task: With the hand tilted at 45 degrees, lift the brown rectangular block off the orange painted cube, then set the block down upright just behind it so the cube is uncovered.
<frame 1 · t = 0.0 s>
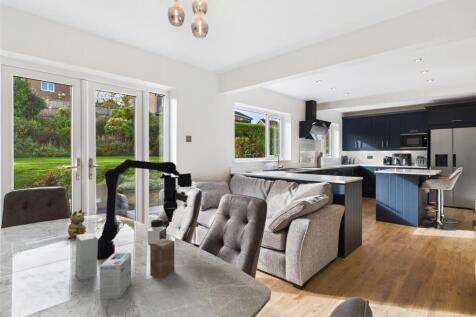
hand: (170, 219, 124), 15 cm above the table, tool pointing down, fingers open, 9 cm apart
brown rectangular block: (162, 273, 99), on the table
skincare box: (86, 275, 98), on the table
light bulb box: (116, 291, 86), on the table
orange cube: (162, 268, 99), in the brown rectangular block
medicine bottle: (157, 242, 136), on the table
decorative figurine: (76, 236, 147), on the table
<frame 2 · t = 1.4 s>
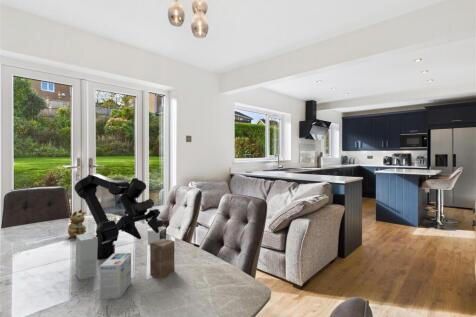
hand: (149, 235, 103), 13 cm above the table, tool tilted 45°, fingers open, 9 cm apart
nothing on the table moved.
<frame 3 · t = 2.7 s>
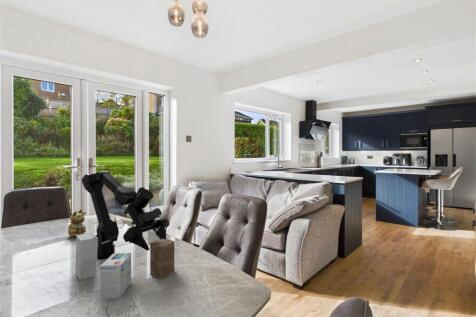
hand: (157, 246, 100), 10 cm above the table, tool tilted 45°, fingers open, 9 cm apart
nothing on the table moved.
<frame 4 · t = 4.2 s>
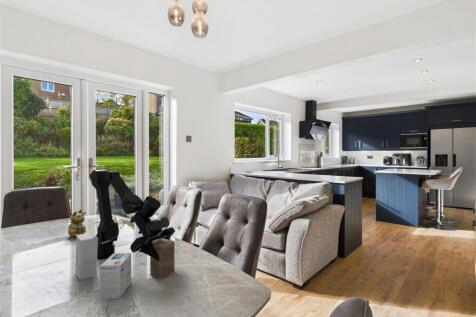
hand: (165, 256, 98), 7 cm above the table, tool tilted 45°, fingers closed on brown rectangular block, 6 cm apart
brown rectangular block: (162, 273, 99), on the table, touching gripper
everything else where it was.
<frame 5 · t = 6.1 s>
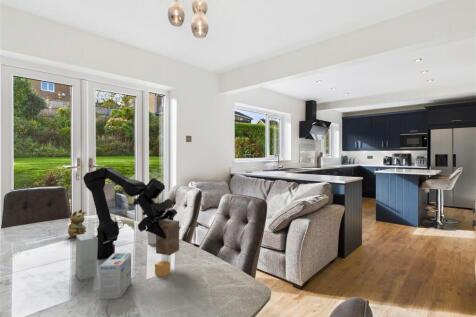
hand: (170, 235, 103), 13 cm above the table, tool tilted 45°, fingers closed on brown rectangular block, 6 cm apart
brown rectangular block: (167, 251, 104), point 7 cm above the table, touching gripper
everything else where it was.
when the fingers open (8 cm above the table, at t = 8.4 s): brown rectangular block drops 1 cm, on the table.
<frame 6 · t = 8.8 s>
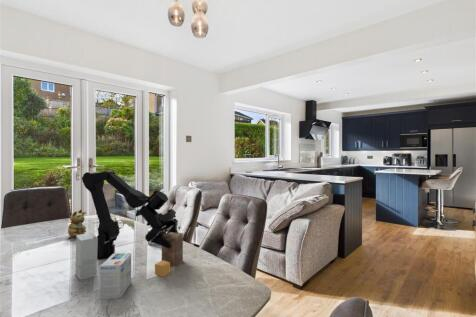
hand: (175, 244, 109), 8 cm above the table, tool tilted 45°, fingers open, 9 cm apart
brown rectangular block: (172, 262, 109), on the table
everything else where it was.
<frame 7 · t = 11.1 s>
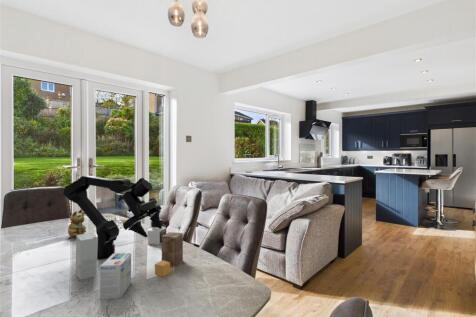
hand: (154, 232, 112), 12 cm above the table, tool tilted 35°, fingers open, 9 cm apart
nothing on the table moved.
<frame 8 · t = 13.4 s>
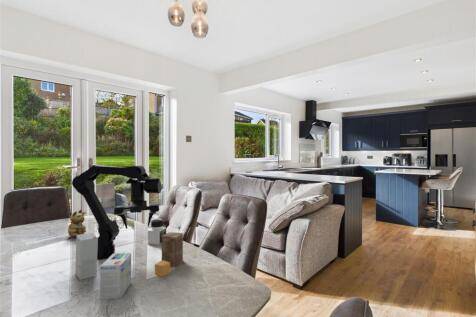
hand: (137, 227, 116), 13 cm above the table, tool pointing down, fingers open, 9 cm apart
nothing on the table moved.
at the end: brown rectangular block 0.0 cm from the target spot, on the table; brown rectangular block tilted 0°; the gripper is holding nothing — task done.
